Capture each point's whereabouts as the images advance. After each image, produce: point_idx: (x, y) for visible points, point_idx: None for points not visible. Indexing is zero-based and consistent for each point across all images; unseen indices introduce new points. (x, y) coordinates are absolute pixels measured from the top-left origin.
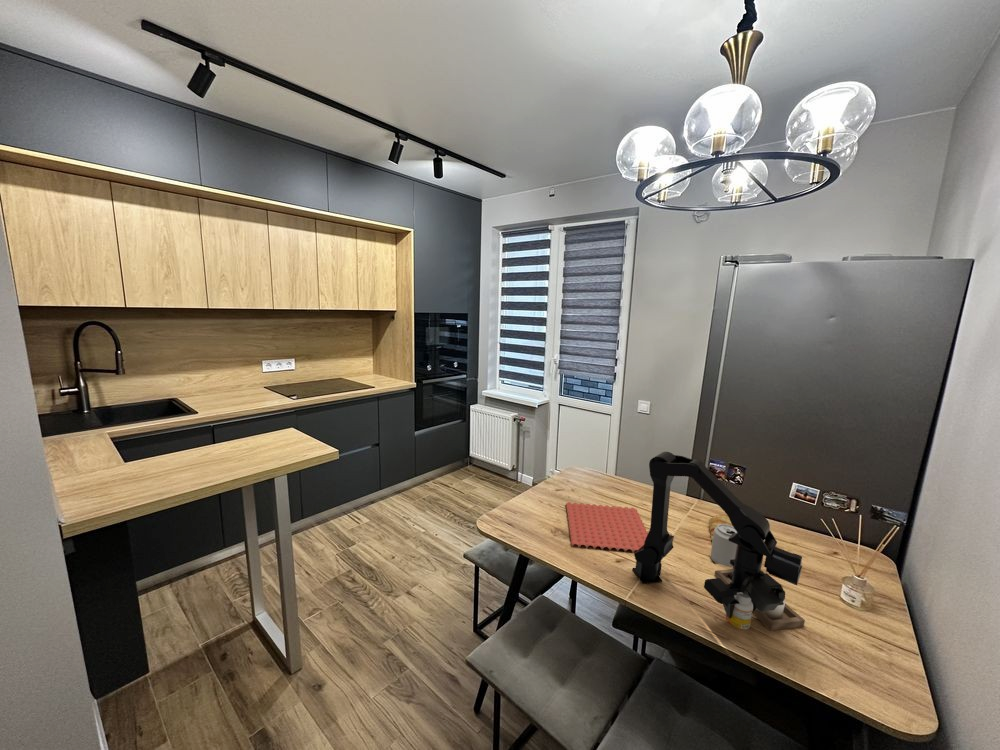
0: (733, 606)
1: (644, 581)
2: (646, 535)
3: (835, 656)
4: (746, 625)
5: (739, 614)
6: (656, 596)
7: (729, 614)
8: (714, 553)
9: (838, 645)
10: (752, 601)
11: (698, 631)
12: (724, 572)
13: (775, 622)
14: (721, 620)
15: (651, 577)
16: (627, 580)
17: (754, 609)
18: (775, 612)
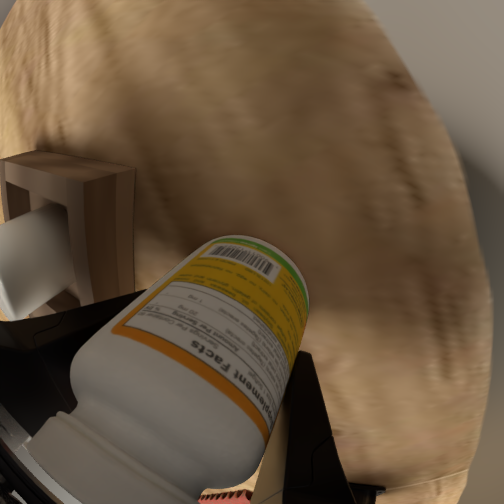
0: (303, 471)
1: (378, 492)
2: (222, 502)
3: (44, 44)
4: (238, 260)
5: (264, 365)
6: (406, 466)
7: (319, 387)
8: None
9: (18, 84)
10: (66, 362)
11: (480, 354)
12: None
13: (61, 186)
14: (306, 346)
15: (357, 500)
16: (403, 492)
17: (95, 307)
18: (33, 229)
